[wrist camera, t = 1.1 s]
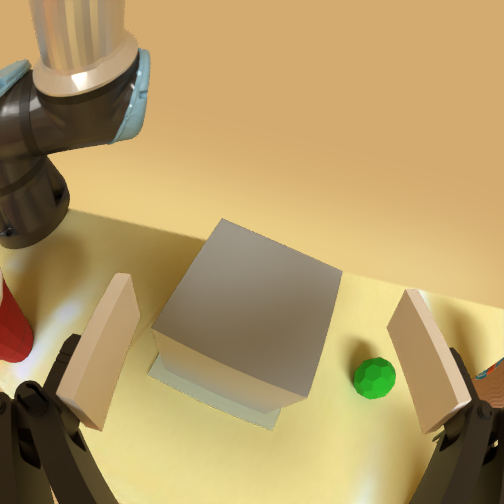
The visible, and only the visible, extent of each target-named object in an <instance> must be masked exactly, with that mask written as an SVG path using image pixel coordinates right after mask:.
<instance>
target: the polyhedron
mask: <svg viewBox="0 0 504 504" xmlns="http://www.w3.org/2000/svg"><path fill="white" fill-rule="evenodd" d="M395 378H396V373H395V369H394V367H393V366H392V364H391V363H390V362H389V361H387V360H385V359H383V358H380V357H379V358H374V359H370V360H365V361H364V362H363V363H362V364H361V365H360V367H359V368H358V369H357V370H356V372H355V377H354V387H355V389H356V391H357V392H358V393H359V394H360V395H362V396H364V397H366V398H368V399H376V398H380V397H383V396H385V395H386V394H387V393H388V392H389V391H390V390H391V389H392V387H393V386H394V384H395Z"/></svg>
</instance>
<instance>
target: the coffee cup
mask: <svg viewBox="0 0 504 504" xmlns="http://www.w3.org/2000/svg"><path fill="white" fill-rule="evenodd" d="M471 380H472V383H473V385H474V387H475V390H476V392H477V394H478V397H479V399H480V400H485V401H487V402H488V403H490V405H491V406H492V407H493V408H503V407H504V358H502V359H501V360H499V361H498V362H497V363H495V364H494V365H492V366H491V367H489V368H488V369H487V370H485V371H483V372H482V373H480V374H479V375H477V376H476V377H475V378H473V379H471Z"/></svg>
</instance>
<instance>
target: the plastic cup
mask: <svg viewBox="0 0 504 504" xmlns="http://www.w3.org/2000/svg"><path fill="white" fill-rule="evenodd" d="M32 346H33V332H32V329H31V327H30V325H29V323H28V321H27V320H26V318H25V317H24V315H23V313H22V311H21V309H20V307H19V305H18V304H17V302H16V301H15V299H14V297H13V295H12V294H11V292H10V290H9V288H8V287H7V285H6V283H5V280H4V278H3V274H2V271H1V268H0V360H5V361H8V362H11V363H13V362H14V363H16V362H21V361H23V360H24V359H25V358H27V357H28V355H29V353H30V352H31V350H32Z"/></svg>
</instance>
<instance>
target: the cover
mask: <svg viewBox="0 0 504 504" xmlns="http://www.w3.org/2000/svg"><path fill="white" fill-rule="evenodd" d="M342 272H343V271H341V270H339V269H337V268H334V267H332V266H330V265H328V264H325V263H323V262H321V261H319V260H316V259H314V258H312V257H310V256H308V255H305V254H303V253H301V252H298V251H296V250H294V249H292V248H289V247H287V246H285V245H282V244H280V243H278V242H276V241H273V240H271V239H269V238H266V237H264V236H262V235H260V234H257V233H255V232H253V231H250V230H248V229H246V228H243V227H241V226H239V225H236V224H234V223H232V222H229V221H227V220H225V219H221V221H220V222H219V223H218V225H217V226H216V228H215V229H214V231H213V232H212V234H211V235H210V237H209V238H208V240H207V241H206V243H205V244H204V246H203V247H202V249H201V250H200V252H199V253H198V255H197V256H196V258H195V259H194V261H193V262H192V264H191V265H190V267H189V268H188V270H187V272H186V273H185V275H184V276H183V278H182V279H181V281H180V282H179V284H178V286H177V287H176V289H175V290H174V292H173V293H172V295H171V297H170V298H169V300H168V301H167V303H166V305H165V306H164V308H163V309H162V311H161V313H160V314H159V316H158V317H157V319H156V321H155V322H154V324H153V326H152V327H151V329H152V332H153V335H154V338H155V341H156V344H157V347H158V350H159V353H160V356H161V359H162V361H163V364H164V367H165V369H166V370H168V371H170V372H171V373H173V374H175V375H177V376H179V377H181V378H183V379H185V380H187V381H189V382H191V383H193V384H195V385H198V386H200V387H202V388H204V389H206V390H208V391H210V392H213V393H215V394H217V395H219V396H222V397H224V398H226V399H228V400H231V401H233V402H236V403H238V404H240V405H243V406H245V407H248V408H250V409H253V410H255V411H258V412H261V413H263V414H267V413H269V412H272V411H275V410H278V409H280V408H283V407H286V406H288V405H291V404H293V403H296V402H298V401H301V400H303V399H306V398H307V397H308V394H309V391H310V388H311V385H312V382H313V379H314V376H315V373H316V369H317V366H318V363H319V360H320V356H321V353H322V350H323V346H324V343H325V339H326V336H327V332H328V328H329V325H330V321H331V317H332V313H333V309H334V305H335V301H336V297H337V293H338V289H339V285H340V280H341V276H342Z"/></svg>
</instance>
